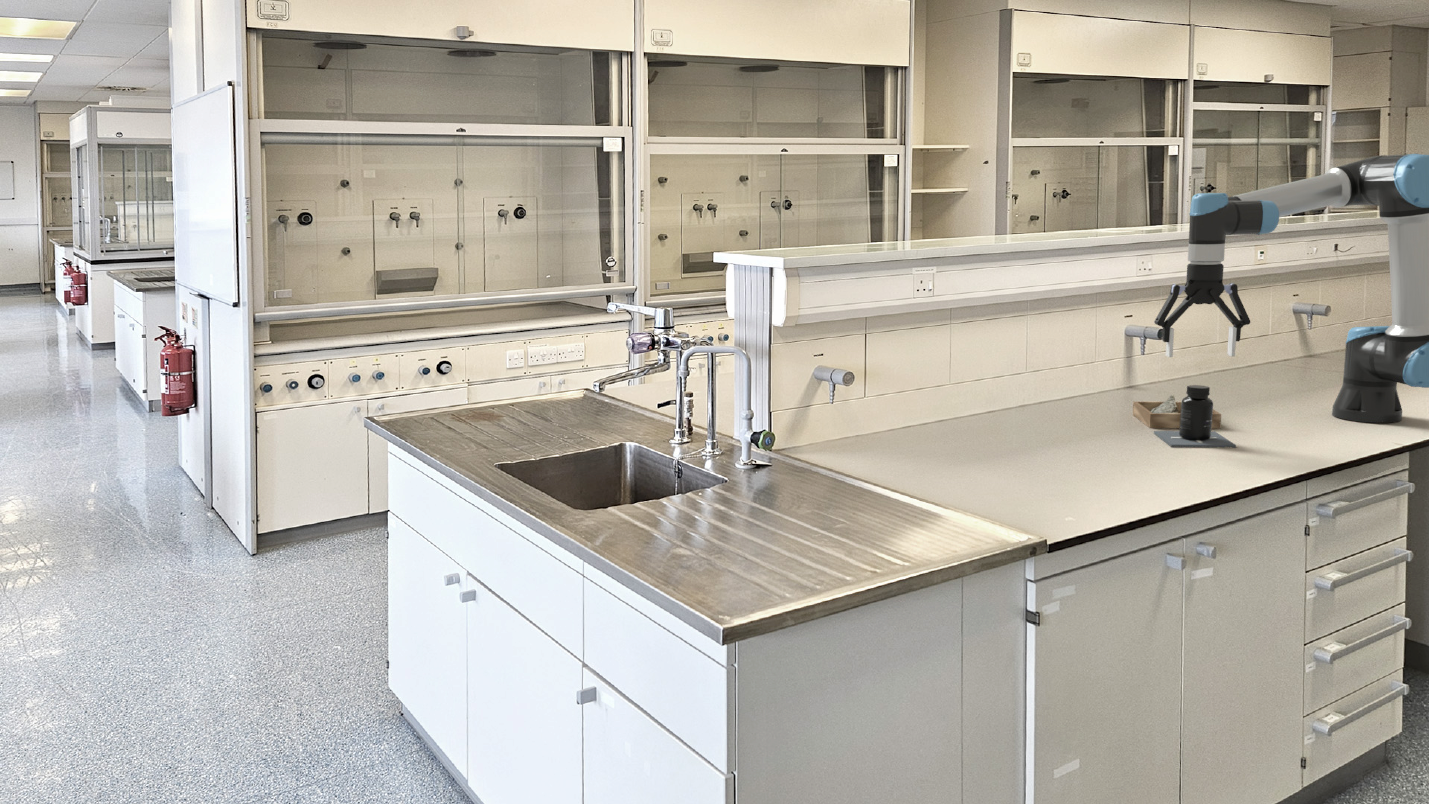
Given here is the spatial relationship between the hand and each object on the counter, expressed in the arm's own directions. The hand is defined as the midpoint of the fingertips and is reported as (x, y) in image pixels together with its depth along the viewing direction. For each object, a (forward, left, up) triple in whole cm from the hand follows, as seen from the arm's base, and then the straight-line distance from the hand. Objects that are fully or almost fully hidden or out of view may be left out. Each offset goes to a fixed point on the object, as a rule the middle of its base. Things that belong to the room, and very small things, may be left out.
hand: (1199, 356), depth 251 cm
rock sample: (+1, -23, -20) cm, 30 cm away
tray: (-2, -21, -20) cm, 29 cm away
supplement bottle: (0, 0, -19) cm, 19 cm away
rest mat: (0, 0, -20) cm, 20 cm away
